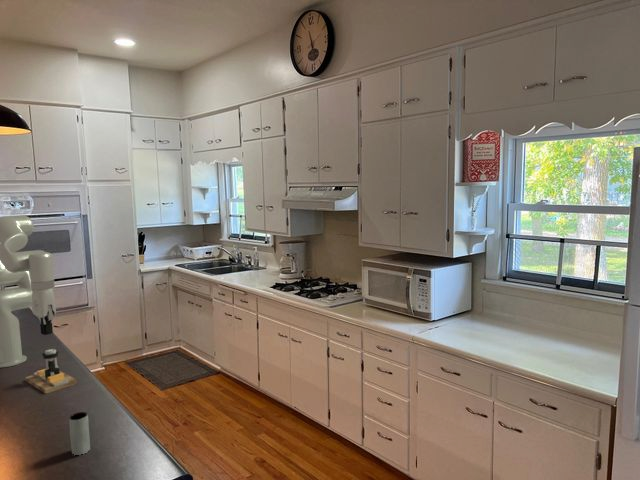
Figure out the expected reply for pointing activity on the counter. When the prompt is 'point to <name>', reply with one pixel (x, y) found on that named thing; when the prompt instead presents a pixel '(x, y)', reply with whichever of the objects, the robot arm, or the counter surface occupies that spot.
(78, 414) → the planter
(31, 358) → the counter surface
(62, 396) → the counter surface
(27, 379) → the din panel
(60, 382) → the din rail
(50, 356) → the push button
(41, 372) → the end stops
